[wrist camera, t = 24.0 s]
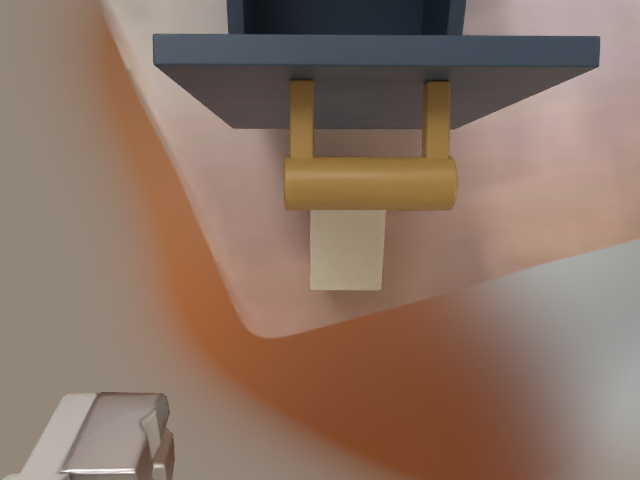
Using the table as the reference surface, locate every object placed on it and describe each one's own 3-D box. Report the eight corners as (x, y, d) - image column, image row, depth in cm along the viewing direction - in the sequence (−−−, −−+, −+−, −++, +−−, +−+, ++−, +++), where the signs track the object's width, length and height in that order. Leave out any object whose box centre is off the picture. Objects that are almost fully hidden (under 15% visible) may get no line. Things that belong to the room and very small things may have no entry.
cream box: (309, 175, 41) (309, 201, 36) (379, 175, 41) (386, 201, 37) (310, 258, 43) (309, 290, 39) (374, 258, 44) (381, 290, 39)
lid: (151, 33, 15) (156, 212, 15) (601, 35, 15) (594, 212, 16) (232, 113, 30) (233, 201, 31) (455, 113, 31) (453, 202, 31)
